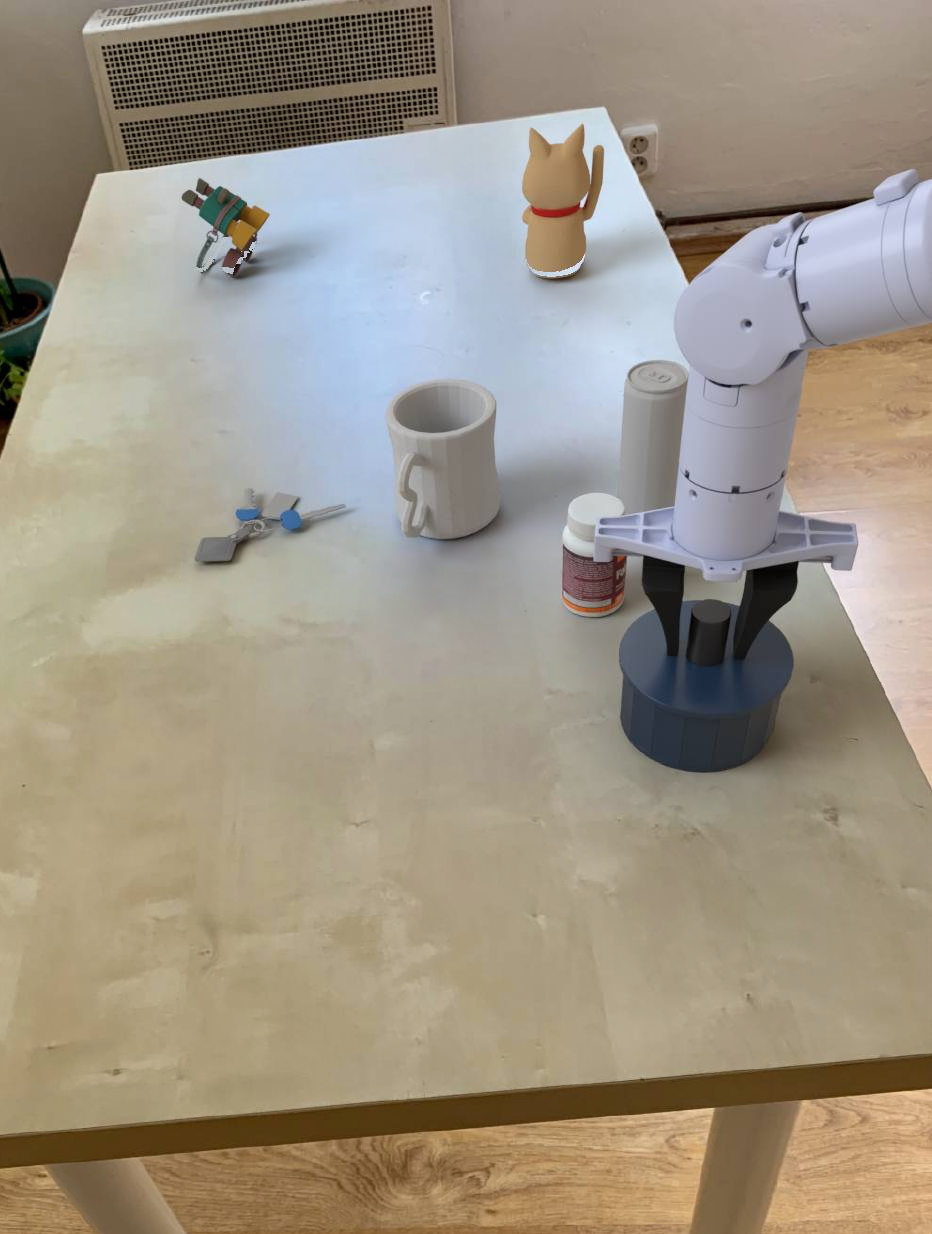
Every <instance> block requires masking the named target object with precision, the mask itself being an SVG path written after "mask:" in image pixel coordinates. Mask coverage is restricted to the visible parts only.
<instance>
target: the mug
mask: <svg viewBox="0 0 932 1234" xmlns="http://www.w3.org/2000/svg"><path fill="white" fill-rule="evenodd" d="M384 418H385V422H386V428H387V431H388V436H389V438H390V443H391V447H392V458H393V467H394V468H393V469H394V497H393V498H394V511H395V514H396V517H397V519H398V521H399V522H400V529H401V531H402V532H403V534H404V535H405V536H406V537H407V538H411V539H412V538H417V537H418V536H421V537H424V538H428V539H435V540H452V539H458V538H462V537H467V536H470V535H472V534H475V533H477V532H479V531H481V530H482V529H484V528H485V527H487V526H488V525H489V524H490V523H491V522H492V521H493V520H494V519H495V518H496V517H497V515H498V513H499V511H500V508H501V503H502V502H501V501H502V500H501V499H502V498H501V497H502V496H501V495H502V493H501V487H500V482H499V474H498V470H497V465H496V449H495V430H496V419H497V399H496V398H495V396H494V394H493V393H492V392H491V391H490V390H488V389H487V388H486V387H485V386H484V385H483V386H482V385H481V384H479V383H477V382H474V381H469V380H465V379H456V378H455V379H454V378H444V379H443V378H441V379H432V380H428V381H423V382H420V383H417V384H414V385H411V386H408V387H406V388H405V389H404V390H401V391H399V392H398V393H397V394H396V395H395V396H394V397H392V399H391V400H390V402H389V403H388V405H387V406H386V408H385V415H384Z"/></svg>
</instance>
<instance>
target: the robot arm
mask: <svg viewBox="0 0 932 1234" xmlns="http://www.w3.org/2000/svg"><path fill="white" fill-rule="evenodd" d="M872 194H873V198H870V199H868V200H865V201H862V202H858V203H856V204H853V205H849V206H847V207H844V208H840V209H837V210H835V211H832V212H829V213H827V214H823V215H819V216H818V217H815V218H814V217H813V218H811V219H808V220H806V216H805V214H804V213H803V212H800V211H799V212H796V213H793V214H790V215H788V216H784V217H783V218H782V219H781V220H779V221H778V222H777V223H771V224H767V225H762V226H760V227H756V228H754V229H753V230H751V231H750V232H748V233H747V234H745V235H744V236H742V237H741V238H740V239H739V240H738V241H737V242H735V243H734V244H733V245H732V246H731V247H730V248H728V249H727V250H726V251H725V252H724V253H722V254H721V255H720V256H718V257H717V258H716V259H715V260H714V261H712V262H711V263H710V264H709V265H708V266H706V267H705V268H704V269H703V270H702V271H701V272H699V273H698V274H697V275H696V276H694V278H693V279H692V280H691V282H689V284H688V285H687V286H686V287H685V289H684V290H683V291H682V293H681V295H680V296H679V298H678V301H677V302H676V306H675V309H674V316H673V331H674V336H675V340H676V344H677V347H678V348H679V351H680V352H681V354H682V356H683V358H684V359H685V360H686V362H687V363H688V365H689V367H688V368H689V369H688V373H689V376H688V385H687V391H686V401H685V410H684V420H683V429H682V439H681V448H680V457H679V469H678V478H677V487H676V497H675V506H673V507H668V508H662V509H657V510H652V511H646V512H641V513H635V514H629V515H623V516H611V517H597V519H596V527H595V536H594V558H593V561H594V562H610V561H612V557H613V556H627V557H637V558H638V557H639V558H640V557H641V558H642V567H641V586H642V589H643V592H644V595H645V596H646V597H647V599H648V600H649V602H650V603H651V605H652V607H653V609H655V610H656V612H657V614H658V617H659V619H660V622H661V625H662V628H663V631H664V635H665V639H666V646H667V656H677V657H678V652H679V636H680V613H681V607H682V601H684V596H685V595H684V594H685V573H686V567H689V568H693V569H696V570H701V572H702V578H703V579H704V580H705V581H707V582H711V583H712V582H714V583H715V582H716V583H737V582H739V581H740V580H741V578H742V576H743V572H745V578H744V584H743V585H744V586H743V592H742V596H741V600H740V604H739V606H740V607H739V611H738V615H737V619H736V623H735V630H734V637H733V650H734V660H744V659H745V658H746V655H747V653H748V651H749V649H750V647H751V645H752V643H753V642H754V640H755V638H756V636H757V635H758V634H759V632H760V631H761V629H762V628H763V626H764V625H765V624H766V623H767V621H768V620H769V621H770V619H771V618H772V617H773V616H774V615H776V613H777V612H778V611H780V609H782V608H783V607H784V606H786V605H787V604H788V603H789V602H791V600H792V599H793V598H794V597H795V594H796V592H797V589H798V585H799V578H798V577H799V576H798V569H799V566H800V563H812V564H813V563H814V564H815V563H817V564H830V567H831V569H832V570H833V571H839V572H841V571H842V572H843V571H845V572H851V571H852V570H853V566H854V562H855V560H856V555H857V551H858V549H859V537H858V530H857V525H856V523H855V522H853V523H852V522H839V521H831V520H830V521H829V520H825V519H820V518H815V517H811V516H807V515H803V514H798V513H793V512H788V511H784V510H780V509H781V504H782V499H783V493H784V489H785V483H786V478H787V472H788V467H789V461H790V456H791V450H792V446H793V441H794V436H795V430H796V426H797V425H796V424H797V420H798V414H799V409H800V403H801V398H802V393H803V382H804V377H805V371H806V367H807V361H808V356H809V351H810V350H811V351H813V350H824V349H829V348H833V347H837V346H841V345H845V344H849V343H854V342H858V341H862V340H867V339H870V338H871V339H872V338H874V337H880V336H883V335H887V334H888V335H889V334H891V333H895V332H900V331H904V330H908V329H913V328H917V327H921V326H925V325H929V324H932V178H930V179H929V178H928V179H927V180H923V181H921V182H920V180H919V175H918V171H917V170H916V169H915V168H911V169H908V170H905V171H902V172H900V173H895V174H893V175H890V176H888V177H887V178H885V180H883V181H882V182H881V183H880V184H879V185H878V186H876V188H875V189H874V190H873V193H872Z"/></svg>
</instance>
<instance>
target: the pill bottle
mask: <svg viewBox="0 0 932 1234" xmlns="http://www.w3.org/2000/svg"><path fill="white" fill-rule="evenodd" d="M623 515H625V507H624V504H623V502H622V501H621V500H620V499H618V496H617V497H616V496H615V495H613V494H609V493H604V492H588V493H585V494H581V495H580V496H577V497H575V498H574V499H573V500H572V501H570V504H569V506H568V509H567V519H566V520H567V521H566V522H567V524H566V525H565V526H564V528H563V531H562V534H561V535H562V536H561V586H560V587H561V589H560V590H561V595H560V597H561V602H562V604H563V606H564V607H565V608H566V609H567V610H568V611H570V612H571V613H573V614H575V615H577V616H581V617H586V618H587V617H588V618H599V617H605V616H608V615H611V614H613V613H614V612H616V611H617V610H618V609H620V607H621V606H622V604H623V603H624V599H625V590H626V577H627V565H628V563H627V562H628V556H613V557H612V561H610V562H594V561H593V558H594V536H595V527H596V519H597V517H611V516H623Z"/></svg>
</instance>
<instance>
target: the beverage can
mask: <svg viewBox="0 0 932 1234" xmlns="http://www.w3.org/2000/svg"><path fill="white" fill-rule="evenodd" d="M688 376H689V370H688V369H687V368H686V367H685V366H684V365H682V364H680V363H678V362H676V361H672V360H668V359H667V360H665V359H652V360H645V361H641V362H640V363H637V364H635V365H633V366H632V367H631V368H629V369H628V371H627V373H626V379H625V380H624V388H623V401H622V402H623V403H622V417H621V418H622V419H621V436H620V449H619V450H620V451H619V467H618V468H619V469H618V482H617V485H618V486H617V498H618V499H620V500H621V501H622V502H623V504H624V507H625V515H629V514H635V513H641V512H646V511H652V510H657V509H662V508H668V507H673V506H675V497H676V487H677V478H678V469H679V457H680V448H681V439H682V429H683V420H684V410H685V401H686V391H687V385H688Z"/></svg>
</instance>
